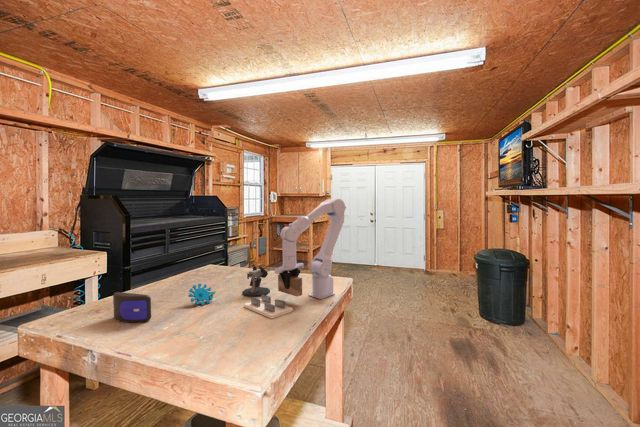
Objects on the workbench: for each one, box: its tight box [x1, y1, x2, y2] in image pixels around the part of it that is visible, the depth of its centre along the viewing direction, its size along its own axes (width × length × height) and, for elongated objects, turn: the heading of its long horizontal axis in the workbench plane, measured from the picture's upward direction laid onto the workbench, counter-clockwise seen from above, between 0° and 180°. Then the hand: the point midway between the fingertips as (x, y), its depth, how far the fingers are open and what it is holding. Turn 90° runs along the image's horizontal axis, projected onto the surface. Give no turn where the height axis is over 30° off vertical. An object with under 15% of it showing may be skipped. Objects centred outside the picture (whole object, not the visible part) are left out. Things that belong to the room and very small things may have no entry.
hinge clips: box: [250, 294, 286, 312], centre depth 114 cm, size 6×14×2 cm, turn 47°
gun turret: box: [241, 265, 276, 298], centre depth 138 cm, size 13×20×13 cm, turn 154°
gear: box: [188, 283, 217, 306], centre depth 123 cm, size 11×6×10 cm
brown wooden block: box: [277, 274, 303, 298], centre depth 123 cm, size 4×12×7 cm, turn 47°
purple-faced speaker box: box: [112, 291, 152, 324], centre depth 104 cm, size 16×5×9 cm, turn 74°
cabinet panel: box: [243, 298, 294, 319], centre depth 114 cm, size 10×18×1 cm, turn 47°
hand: (290, 287), depth 123 cm, fingers closed on brown wooden block, 3 cm apart
